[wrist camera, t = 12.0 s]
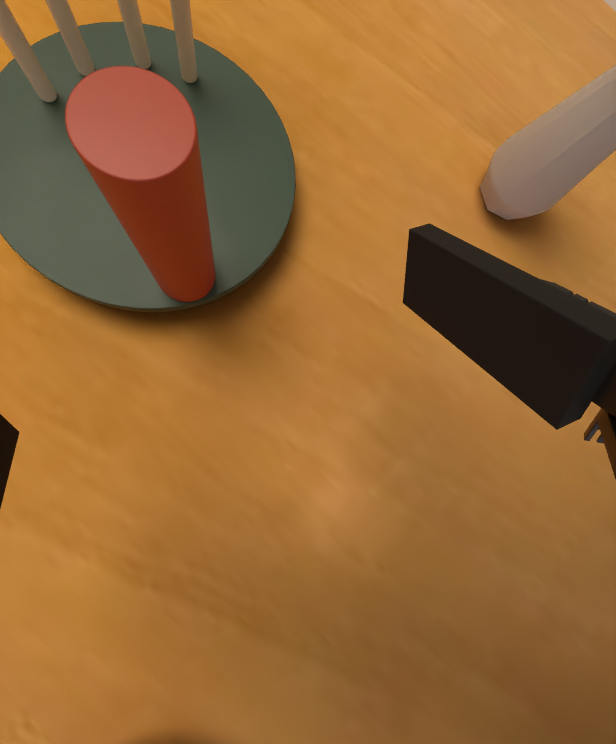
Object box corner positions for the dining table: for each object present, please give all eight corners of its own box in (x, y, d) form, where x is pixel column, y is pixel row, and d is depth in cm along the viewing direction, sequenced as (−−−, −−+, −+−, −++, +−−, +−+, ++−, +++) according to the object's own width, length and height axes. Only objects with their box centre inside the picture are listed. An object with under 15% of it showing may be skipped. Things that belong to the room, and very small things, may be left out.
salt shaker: (484, 237, 27) (700, 93, 15) (459, 166, 28) (653, -37, 15) (544, 220, 29) (790, 75, 16) (520, 153, 29) (746, -44, 16)
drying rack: (-51, 64, 20) (-503, -481, 8) (243, 32, 24) (255, -368, 12) (45, 352, 20) (-267, 264, 7) (326, 273, 24) (431, 129, 11)
